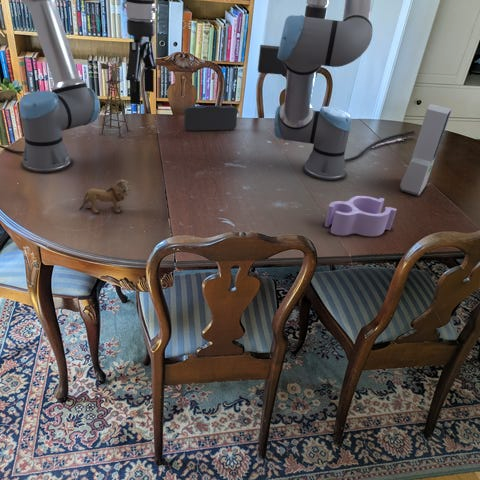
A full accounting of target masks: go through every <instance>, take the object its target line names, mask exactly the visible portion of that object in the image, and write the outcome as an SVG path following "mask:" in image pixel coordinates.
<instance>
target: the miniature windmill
mask: <svg viewBox="0 0 480 480" xmlns="http://www.w3.org/2000/svg"><path fill="white" fill-rule="evenodd" d="M109 64H110V65H109ZM109 64H107V63H103V62H100V69H101V70H108V71H109V75H110V78H109V80H107V81H105V83H106V84H109V85H108V88H107V90H108V91H107V94H106V95H107V96H106V99H105V106H104V108H105V110H104V116H103V118H102V120H103V121H102V124H101V127H102V128H101V135H104V132H105V127H109V128H110V129H112V128H115V129H118V135H119V138H121V137H122V132H121V128H123V127H124V126H125V128H126V131H127V132H129V131H130V129H129V126H128V123H129V121H127V119H126V114H125V109H124V107H123V103H122V98H121V95H120V91H119V89H120V88H119V86H118V84H120V83H121V82H122V81H120V80H117V79H118V77H119V76H120V70H121V68H120V66H121V64H120V61H119V59H118V57H117V55H116V54H115V55H112V58H110V61H109ZM116 92H117V96H118V97H117V96H116ZM113 99H114V100H113ZM109 102H110V103H109ZM118 102H119V104H120V108H118ZM113 103H114V105H115V107H113ZM109 106H110V107H109ZM108 107H109V109H108ZM113 110H115V111H116V112H113ZM120 114H122V116H123V120H121V119H120V118H119V115H120ZM113 115H116V119H113ZM107 117H109V119H108V120H106V118H107ZM113 121H115V122H117V126H115V125H112V123H113ZM108 122H109V124H107V123H108ZM120 123H122V125H120Z"/></svg>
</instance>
